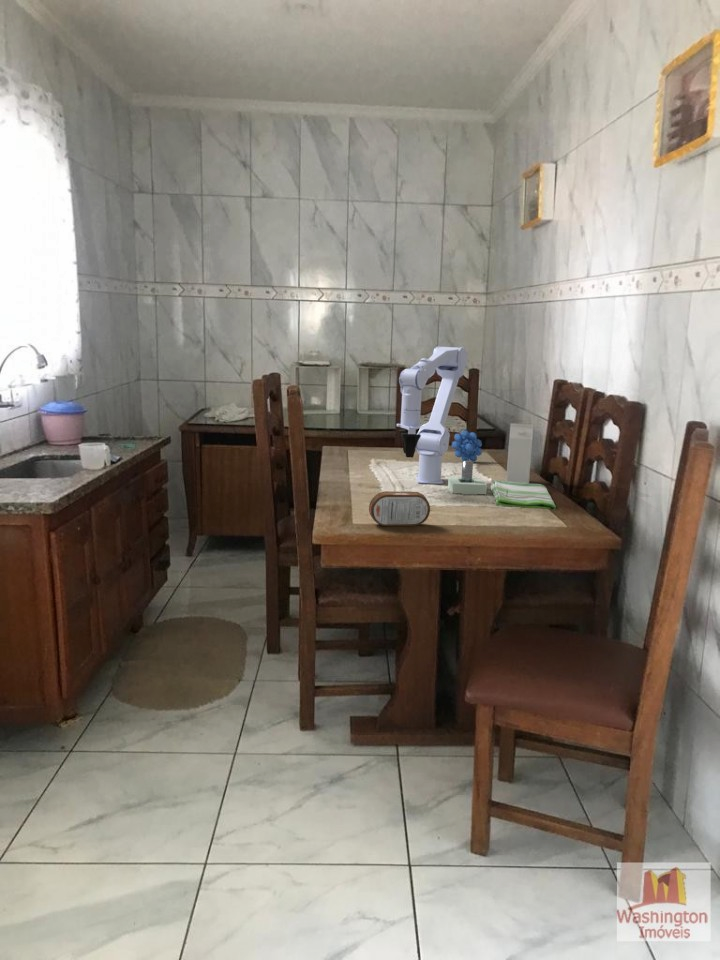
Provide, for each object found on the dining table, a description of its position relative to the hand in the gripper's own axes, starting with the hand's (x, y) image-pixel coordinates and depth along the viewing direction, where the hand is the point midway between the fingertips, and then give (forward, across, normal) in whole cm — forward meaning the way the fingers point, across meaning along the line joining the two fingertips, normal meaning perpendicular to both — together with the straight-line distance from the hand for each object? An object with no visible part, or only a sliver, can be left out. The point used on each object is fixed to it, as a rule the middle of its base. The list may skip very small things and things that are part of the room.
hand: (408, 455), depth 218 cm
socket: (+10, 0, +18) cm, 21 cm away
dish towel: (+11, +8, +33) cm, 36 cm away
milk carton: (+10, -16, +37) cm, 42 cm away
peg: (+10, 0, +18) cm, 21 cm away
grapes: (+10, -48, +26) cm, 56 cm away
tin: (+11, +41, -5) cm, 43 cm away
